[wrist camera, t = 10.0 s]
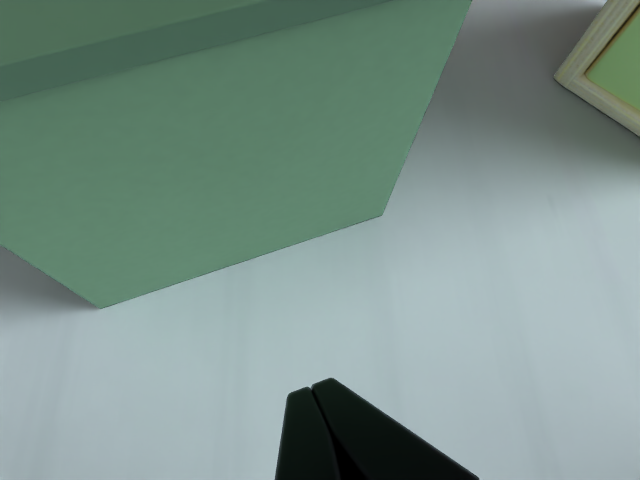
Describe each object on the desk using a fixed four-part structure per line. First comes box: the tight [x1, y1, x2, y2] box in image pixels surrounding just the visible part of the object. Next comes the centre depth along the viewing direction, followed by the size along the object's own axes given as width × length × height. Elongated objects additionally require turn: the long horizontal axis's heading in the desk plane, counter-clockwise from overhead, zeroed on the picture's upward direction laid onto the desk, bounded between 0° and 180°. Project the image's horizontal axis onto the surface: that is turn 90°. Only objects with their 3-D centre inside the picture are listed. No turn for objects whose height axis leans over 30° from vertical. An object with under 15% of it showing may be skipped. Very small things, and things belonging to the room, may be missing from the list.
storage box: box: [0, 0, 472, 309], centre depth 16 cm, size 11×13×13 cm
